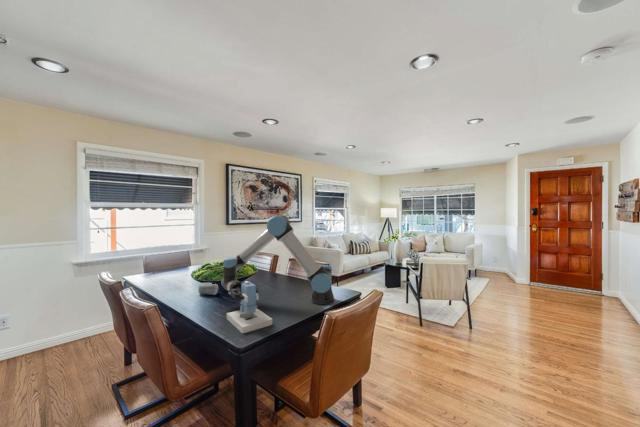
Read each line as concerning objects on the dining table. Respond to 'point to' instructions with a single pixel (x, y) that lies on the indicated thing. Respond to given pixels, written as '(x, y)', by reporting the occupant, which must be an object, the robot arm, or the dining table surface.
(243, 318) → the frame
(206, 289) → the spool
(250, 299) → the servo
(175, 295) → the dining table surface
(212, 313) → the dining table surface
